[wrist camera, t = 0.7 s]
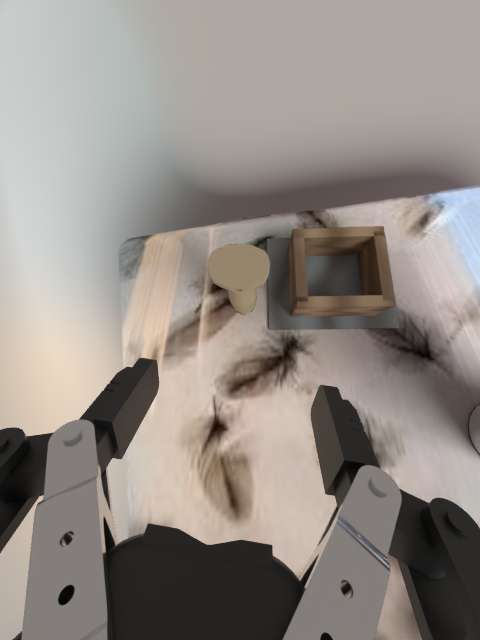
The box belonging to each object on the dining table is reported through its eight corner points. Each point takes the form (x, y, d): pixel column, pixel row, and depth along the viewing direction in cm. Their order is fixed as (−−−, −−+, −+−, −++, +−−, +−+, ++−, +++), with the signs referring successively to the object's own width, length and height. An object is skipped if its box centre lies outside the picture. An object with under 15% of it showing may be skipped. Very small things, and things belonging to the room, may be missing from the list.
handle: (225, 291, 39) (209, 243, 25) (263, 292, 39) (270, 244, 24) (224, 319, 38) (206, 286, 24) (263, 320, 38) (269, 287, 23)
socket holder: (383, 236, 40) (406, 213, 34) (397, 328, 37) (425, 319, 31) (266, 240, 41) (268, 218, 35) (269, 329, 38) (272, 321, 32)
